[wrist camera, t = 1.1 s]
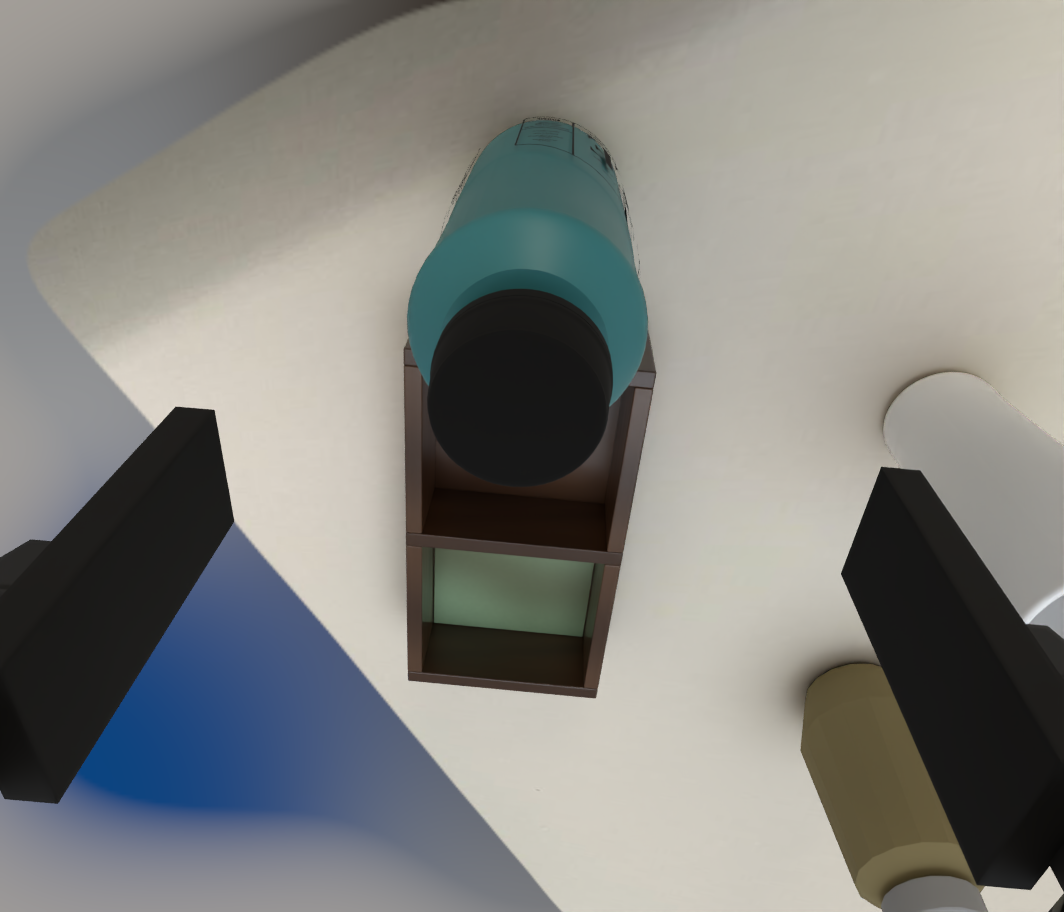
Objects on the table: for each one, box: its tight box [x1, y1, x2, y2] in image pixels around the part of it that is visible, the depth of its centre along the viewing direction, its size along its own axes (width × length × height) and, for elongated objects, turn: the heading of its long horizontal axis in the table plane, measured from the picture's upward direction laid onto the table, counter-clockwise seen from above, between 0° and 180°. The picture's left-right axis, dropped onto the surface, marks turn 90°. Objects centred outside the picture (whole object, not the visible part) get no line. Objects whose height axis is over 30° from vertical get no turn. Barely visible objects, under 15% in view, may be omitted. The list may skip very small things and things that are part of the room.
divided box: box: [404, 332, 656, 698], centre depth 39 cm, size 20×11×5 cm, turn 175°
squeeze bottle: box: [801, 664, 988, 912], centre depth 41 cm, size 8×8×18 cm
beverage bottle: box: [407, 117, 648, 487], centre depth 24 cm, size 6×7×20 cm
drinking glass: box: [883, 372, 1064, 639], centre depth 31 cm, size 7×7×15 cm
